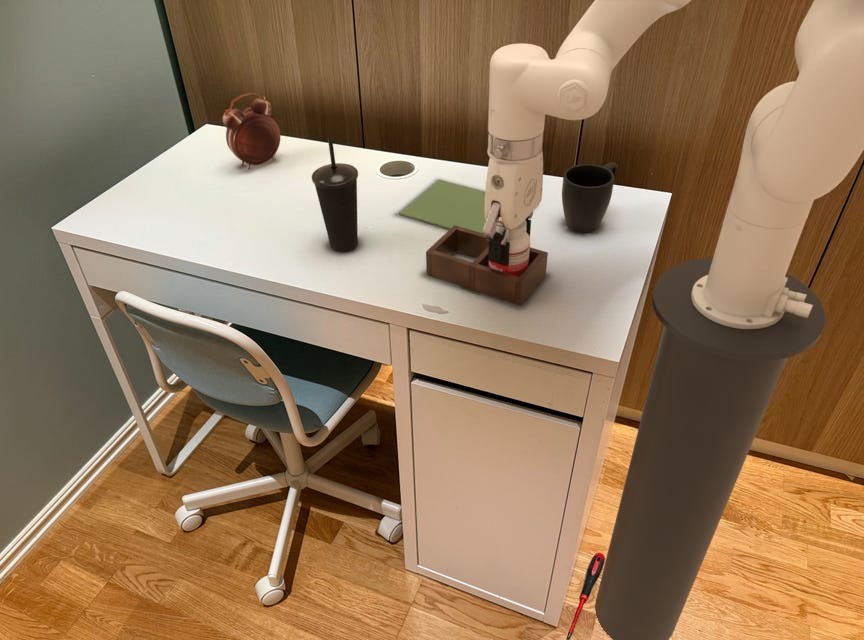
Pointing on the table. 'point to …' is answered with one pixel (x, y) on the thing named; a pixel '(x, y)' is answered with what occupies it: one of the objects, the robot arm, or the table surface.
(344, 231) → the drinking cup
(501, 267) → the pill bottle
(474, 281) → the wooden compartment box
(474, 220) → the mat
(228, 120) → the alarm clock
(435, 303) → the table surface
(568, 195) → the mug
